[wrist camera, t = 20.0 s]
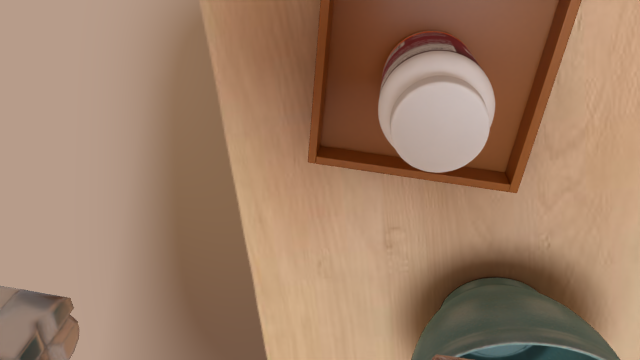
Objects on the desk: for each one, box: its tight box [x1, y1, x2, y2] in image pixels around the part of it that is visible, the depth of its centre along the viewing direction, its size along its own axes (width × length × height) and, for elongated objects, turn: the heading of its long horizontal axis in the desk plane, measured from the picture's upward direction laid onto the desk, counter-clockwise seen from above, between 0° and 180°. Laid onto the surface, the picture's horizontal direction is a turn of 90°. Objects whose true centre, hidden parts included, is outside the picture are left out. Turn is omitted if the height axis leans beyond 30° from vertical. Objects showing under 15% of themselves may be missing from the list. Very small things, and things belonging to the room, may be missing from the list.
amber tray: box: [308, 0, 581, 193], centre depth 31 cm, size 15×14×3 cm
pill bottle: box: [378, 31, 495, 173], centre depth 26 cm, size 6×6×11 cm
